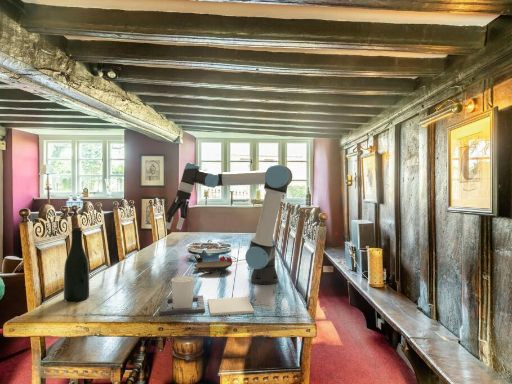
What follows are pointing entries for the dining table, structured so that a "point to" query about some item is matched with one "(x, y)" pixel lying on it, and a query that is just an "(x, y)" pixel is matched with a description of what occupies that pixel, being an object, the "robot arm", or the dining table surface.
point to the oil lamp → (211, 265)
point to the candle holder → (182, 291)
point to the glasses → (228, 259)
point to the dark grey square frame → (182, 310)
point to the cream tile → (230, 306)
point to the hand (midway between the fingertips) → (173, 228)
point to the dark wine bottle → (76, 270)
